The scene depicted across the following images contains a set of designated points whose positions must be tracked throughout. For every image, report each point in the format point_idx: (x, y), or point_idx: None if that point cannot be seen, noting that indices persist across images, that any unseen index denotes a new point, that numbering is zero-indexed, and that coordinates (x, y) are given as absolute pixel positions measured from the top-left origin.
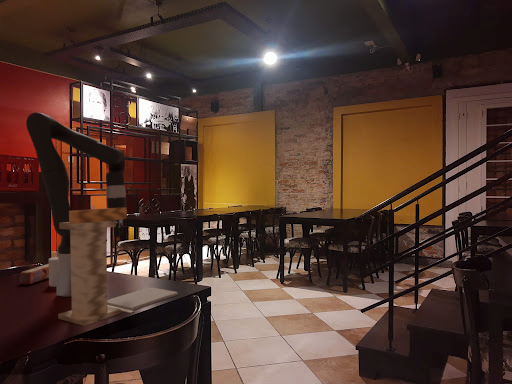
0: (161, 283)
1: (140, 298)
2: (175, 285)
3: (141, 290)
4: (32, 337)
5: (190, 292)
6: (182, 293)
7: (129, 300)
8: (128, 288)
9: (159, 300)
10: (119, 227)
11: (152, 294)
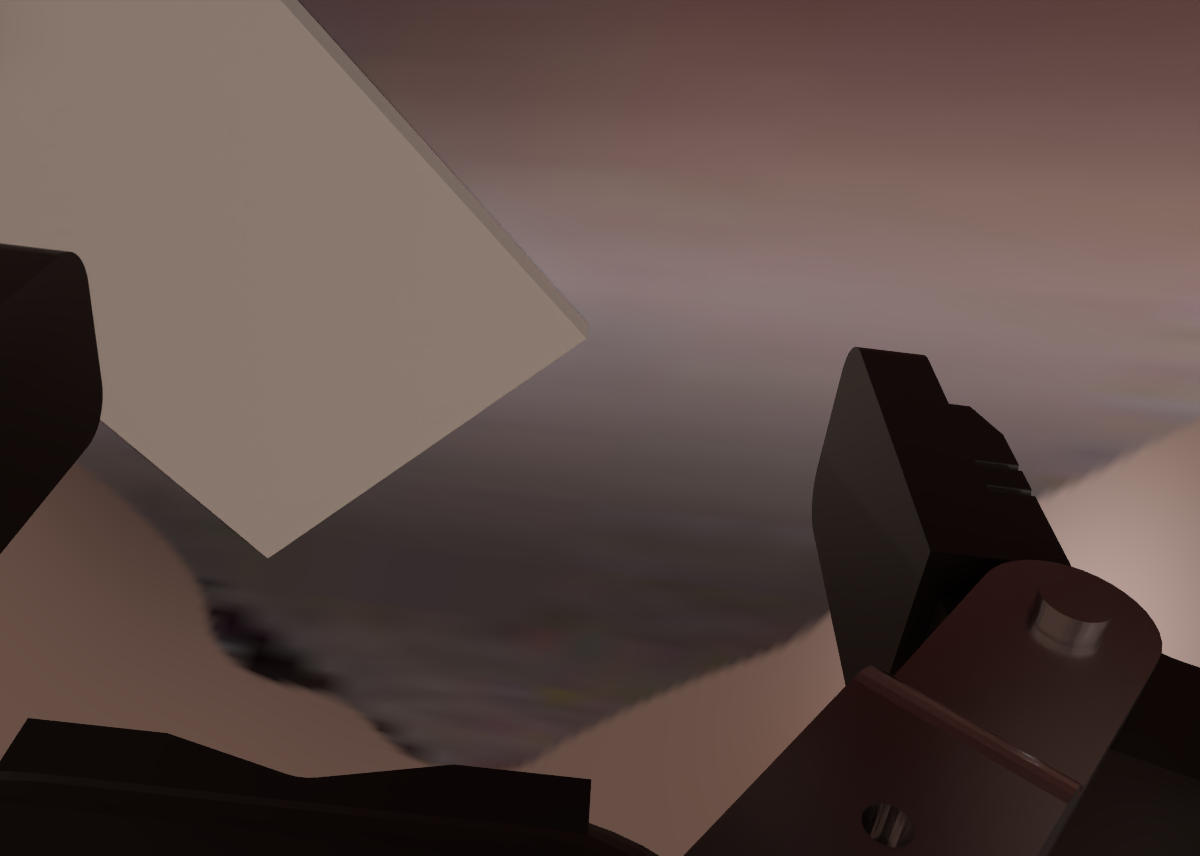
0: None
1: (78, 203)
2: (663, 575)
3: (457, 237)
4: None
5: (328, 641)
6: (311, 582)
7: (6, 75)
8: (775, 75)
9: None
10: (882, 604)
11: (231, 337)
